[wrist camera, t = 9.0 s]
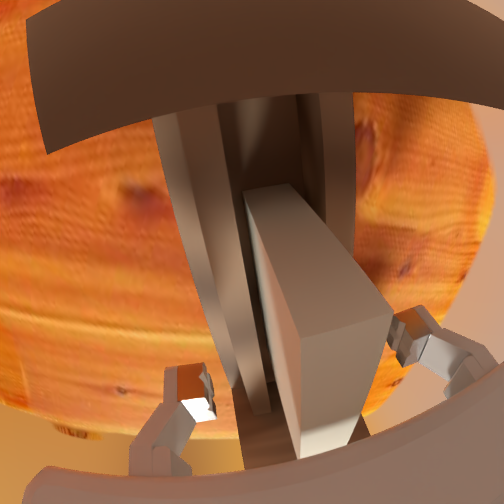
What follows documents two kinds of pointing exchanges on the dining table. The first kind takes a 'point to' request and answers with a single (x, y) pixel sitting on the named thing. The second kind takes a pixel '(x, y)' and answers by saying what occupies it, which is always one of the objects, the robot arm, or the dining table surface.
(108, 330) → the dining table surface
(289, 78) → the wooden rack
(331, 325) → the door panel
